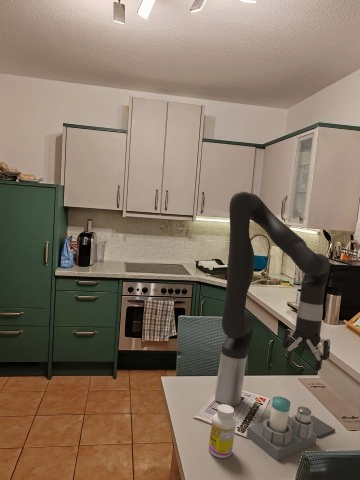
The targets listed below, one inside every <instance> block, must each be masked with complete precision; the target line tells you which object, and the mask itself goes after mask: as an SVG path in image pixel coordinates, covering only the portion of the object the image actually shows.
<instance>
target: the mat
mask: <svg viewBox="0 0 360 480" xmlns="http://www.w3.org/2000/svg"><path fill="white" fill-rule="evenodd" d="M310 419H311V420H312V421H313V431H312V432H314V433H315V434H317V439H321V438H323V437H326V436H328V435H330V434H332V433H335V432H336V428H335V427H332V426H330V425H329V424H327V423H326V422H324V421H322V420H321V419H320V418H317V417H316V416H315V415H314V414H313V415H312V414H311V417H310Z"/></svg>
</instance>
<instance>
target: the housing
mask: <svg viewBox="0 0 360 480" xmlns="http://www.w3.org/2000/svg"><path fill="white" fill-rule="evenodd" d="M296 416H297V414H295V415H292V417H291V416H289V415H288V421H287V428H286V433H279V432H274V431H273V430H271V429H270V428H269V422H270V417H268V418H266V419H263V421H262V422H258V423H256V424H252V425H250V426H249V425H248V426H247V429H246V430H247V431H246V437H247V438H248V439H249V440H250V441H251V442H253V443H254V444H255V445H256V446H258V447H259V448H260V449H261V450H263V451H264V452H265V453H267V455H269V456H270V457H271V458H273V459H274V460H275V461H278V460H281V459H283V458H285V457H288V456H290V455H293V454H295V453H298V452H300V451H303V450H305V449H308V448H310V447H313V446H315V445H316V444H317V439H318V438H317V434H315V433H314V432H312V431H313V421H312V420H311V419H310V423H309V424H308V425H305V424H301V423H299V422H298V421H296Z"/></svg>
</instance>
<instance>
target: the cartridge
mask: <svg viewBox="0 0 360 480" xmlns="http://www.w3.org/2000/svg"><path fill="white" fill-rule="evenodd" d="M290 408H291V401H290V400H289V399H288V398H286V397H283V396H279V395H277V396H274V397H272V403H271V410H270V417H269V418H270V422H269V428H270V429H271V430H273V431H274V432H279V433H286V428H287V421H288V416H289V414H290Z"/></svg>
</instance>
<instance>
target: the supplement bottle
mask: <svg viewBox="0 0 360 480" xmlns="http://www.w3.org/2000/svg"><path fill="white" fill-rule="evenodd" d="M234 412H235V409H234V406H230V405H226V404H222V403H220V404H218V405H217V409H216V413H215V414H214V415H213V416H212V419H211V427H210V432H209V433H210V434H209V439H208V440H209V441H208V451H209V452H210V454H211V455H212V456H214V457H216V458H220V459H225V458H229V457H230V456H231V455H232V452H233V446H234V440H235V433H236V432H235V431H236V424H237V420H236V418H235V417H234V416H235V415H234V414H235V413H234Z"/></svg>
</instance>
